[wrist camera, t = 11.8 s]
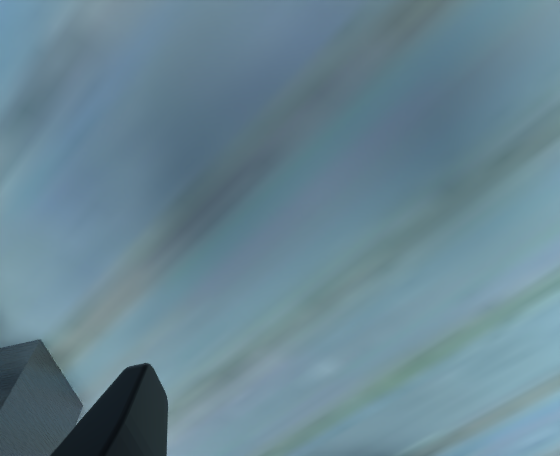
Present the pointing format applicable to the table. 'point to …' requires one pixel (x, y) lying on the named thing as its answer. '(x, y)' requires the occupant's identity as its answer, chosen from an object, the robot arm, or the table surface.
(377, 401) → the table surface
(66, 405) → the coupling block
